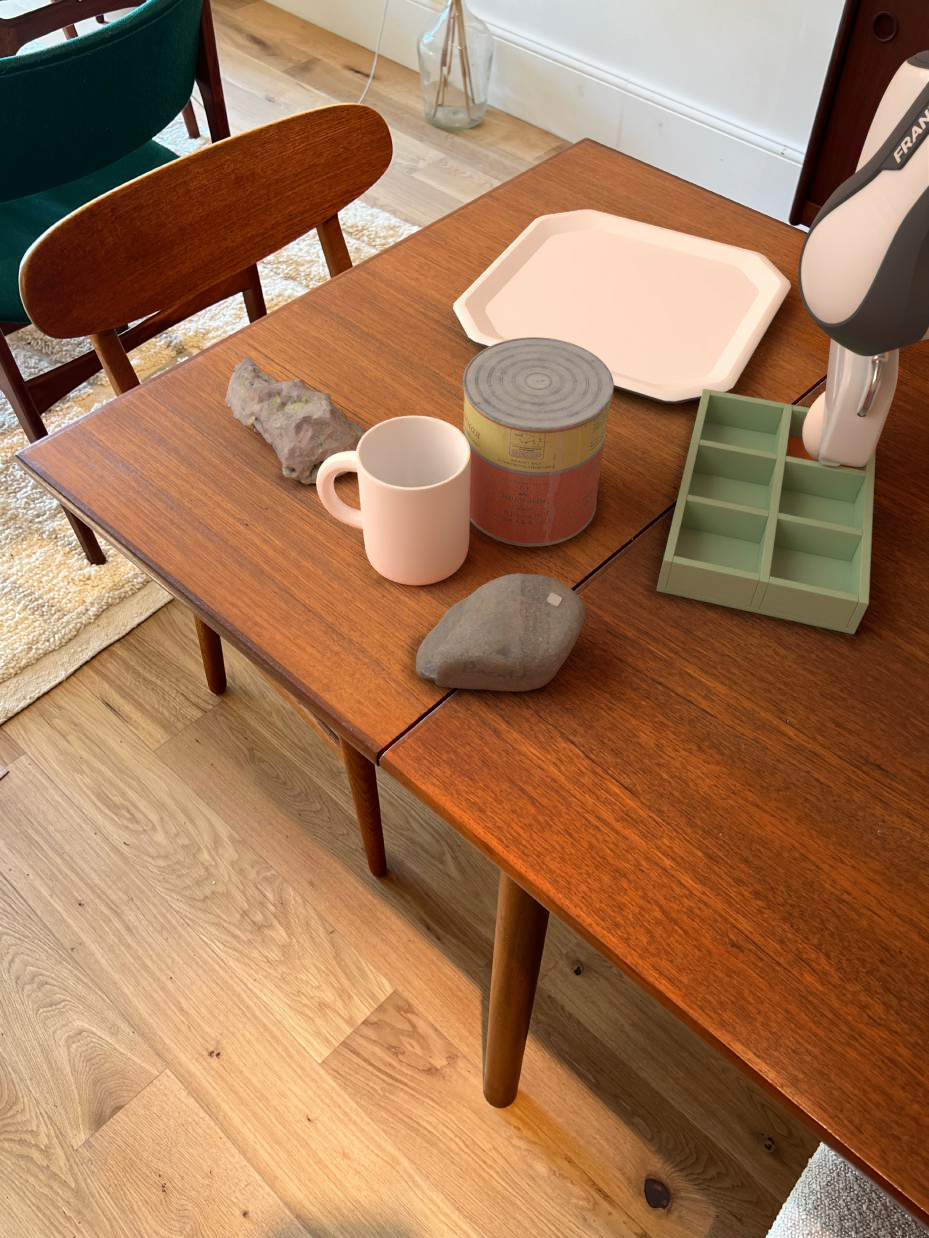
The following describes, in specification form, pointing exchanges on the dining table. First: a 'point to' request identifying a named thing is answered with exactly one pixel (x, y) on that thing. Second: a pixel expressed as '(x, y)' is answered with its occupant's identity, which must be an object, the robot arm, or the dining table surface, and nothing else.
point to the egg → (814, 427)
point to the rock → (291, 420)
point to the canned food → (535, 438)
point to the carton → (769, 519)
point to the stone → (504, 635)
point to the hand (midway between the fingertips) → (830, 437)
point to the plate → (630, 301)
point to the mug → (407, 497)
